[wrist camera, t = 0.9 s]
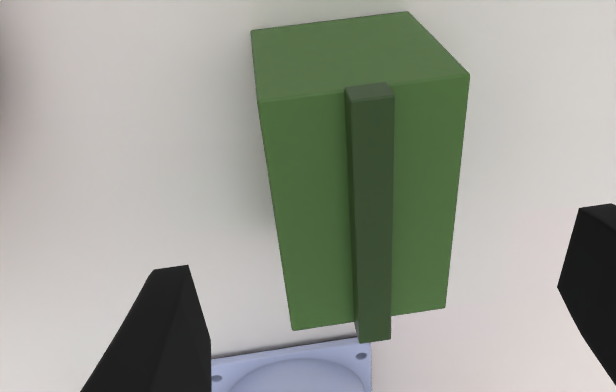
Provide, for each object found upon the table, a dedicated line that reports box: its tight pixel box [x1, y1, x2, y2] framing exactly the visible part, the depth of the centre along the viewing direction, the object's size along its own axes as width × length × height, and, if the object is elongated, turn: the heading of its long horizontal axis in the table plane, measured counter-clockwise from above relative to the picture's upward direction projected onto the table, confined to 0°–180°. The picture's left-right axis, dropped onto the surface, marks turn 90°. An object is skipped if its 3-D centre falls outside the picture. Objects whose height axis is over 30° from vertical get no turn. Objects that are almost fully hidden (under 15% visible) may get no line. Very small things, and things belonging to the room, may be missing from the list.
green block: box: [251, 12, 470, 344], centre depth 16 cm, size 8×5×6 cm, turn 5°
